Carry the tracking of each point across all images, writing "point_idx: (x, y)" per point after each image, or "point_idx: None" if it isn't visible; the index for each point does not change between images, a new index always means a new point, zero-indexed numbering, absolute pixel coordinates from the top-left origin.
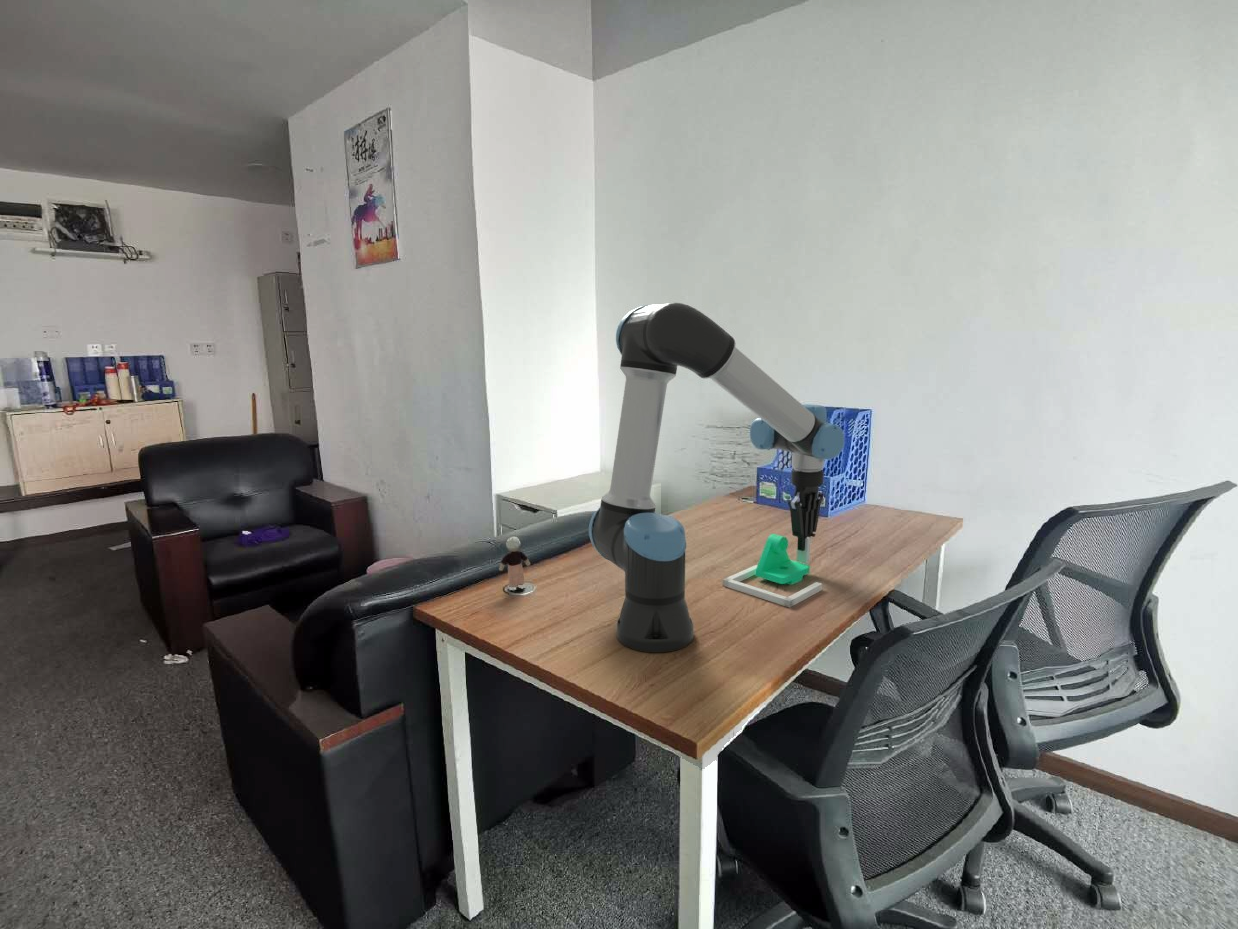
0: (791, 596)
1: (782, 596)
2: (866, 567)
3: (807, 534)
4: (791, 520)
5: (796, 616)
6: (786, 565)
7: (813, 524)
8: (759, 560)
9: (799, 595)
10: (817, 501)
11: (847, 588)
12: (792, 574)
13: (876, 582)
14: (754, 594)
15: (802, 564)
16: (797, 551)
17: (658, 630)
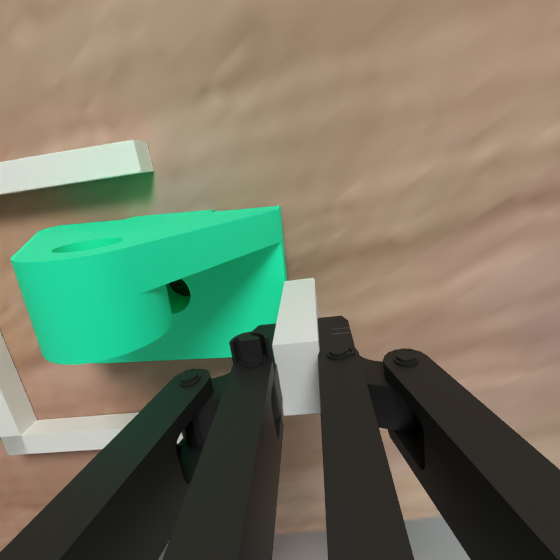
0: (36, 439)
1: (8, 423)
2: (556, 411)
3: (282, 433)
4: (64, 492)
5: (7, 476)
6: (204, 281)
7: (413, 457)
8: (33, 236)
9: (64, 449)
10: None
11: (295, 465)
12: (147, 360)
13: (421, 494)
14: None
15: (275, 319)
16: (281, 301)
17: None
